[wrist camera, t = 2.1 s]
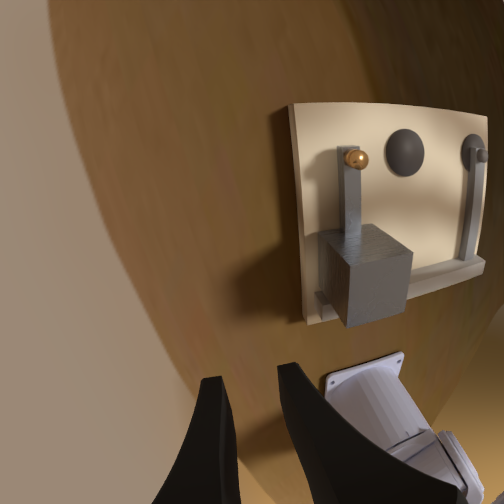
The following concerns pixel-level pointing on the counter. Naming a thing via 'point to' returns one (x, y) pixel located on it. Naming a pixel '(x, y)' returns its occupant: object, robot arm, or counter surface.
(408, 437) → the robot arm
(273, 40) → the counter surface
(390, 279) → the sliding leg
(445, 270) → the bolt board
